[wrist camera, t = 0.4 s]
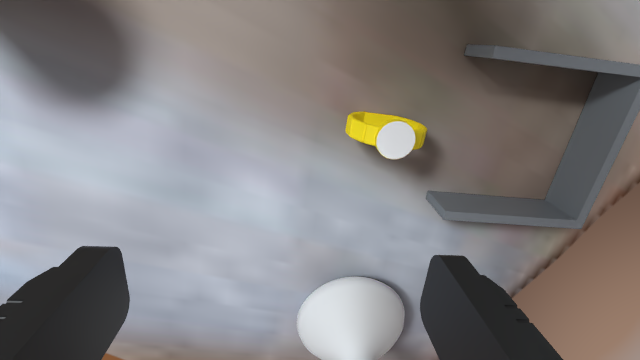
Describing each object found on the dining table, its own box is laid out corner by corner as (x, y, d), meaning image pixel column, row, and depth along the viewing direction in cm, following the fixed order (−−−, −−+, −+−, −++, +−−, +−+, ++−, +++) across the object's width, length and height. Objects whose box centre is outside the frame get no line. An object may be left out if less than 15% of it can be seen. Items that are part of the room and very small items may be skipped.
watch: (341, 132, 28) (347, 154, 23) (347, 100, 27) (354, 114, 22) (409, 141, 29) (430, 165, 23) (417, 110, 28) (441, 127, 22)
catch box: (467, 44, 26) (495, 45, 22) (611, 63, 28) (660, 67, 24) (425, 198, 31) (443, 219, 28) (548, 207, 33) (581, 228, 29)
